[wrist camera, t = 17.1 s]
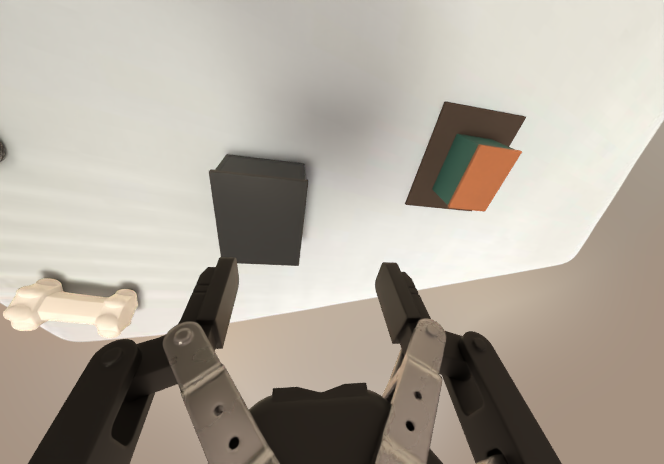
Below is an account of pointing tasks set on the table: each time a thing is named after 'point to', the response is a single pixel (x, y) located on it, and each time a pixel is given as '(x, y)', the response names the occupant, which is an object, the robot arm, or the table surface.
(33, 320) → the white bone
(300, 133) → the table surface
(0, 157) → the pill bottle
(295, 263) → the bottom box
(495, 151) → the orange and teal box
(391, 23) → the table surface
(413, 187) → the mat
